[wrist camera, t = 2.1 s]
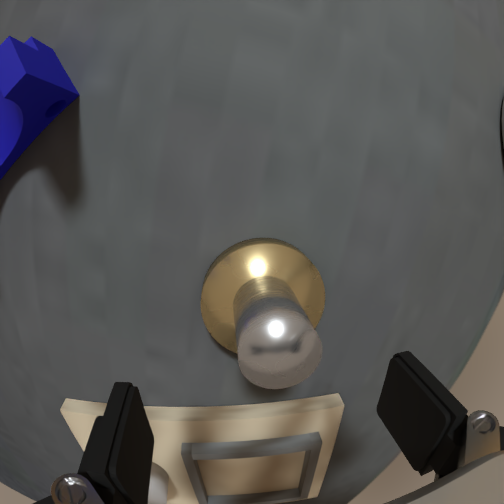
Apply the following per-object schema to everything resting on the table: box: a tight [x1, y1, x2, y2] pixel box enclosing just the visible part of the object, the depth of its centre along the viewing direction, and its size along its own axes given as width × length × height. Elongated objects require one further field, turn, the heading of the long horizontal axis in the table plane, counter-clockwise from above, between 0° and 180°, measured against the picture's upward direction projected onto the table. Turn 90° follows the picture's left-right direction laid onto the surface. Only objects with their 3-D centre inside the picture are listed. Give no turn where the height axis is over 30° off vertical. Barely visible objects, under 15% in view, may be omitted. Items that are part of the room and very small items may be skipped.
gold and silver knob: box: [201, 238, 325, 389], centre depth 15 cm, size 7×7×6 cm
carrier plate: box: [60, 393, 344, 504], centre depth 20 cm, size 22×16×4 cm
